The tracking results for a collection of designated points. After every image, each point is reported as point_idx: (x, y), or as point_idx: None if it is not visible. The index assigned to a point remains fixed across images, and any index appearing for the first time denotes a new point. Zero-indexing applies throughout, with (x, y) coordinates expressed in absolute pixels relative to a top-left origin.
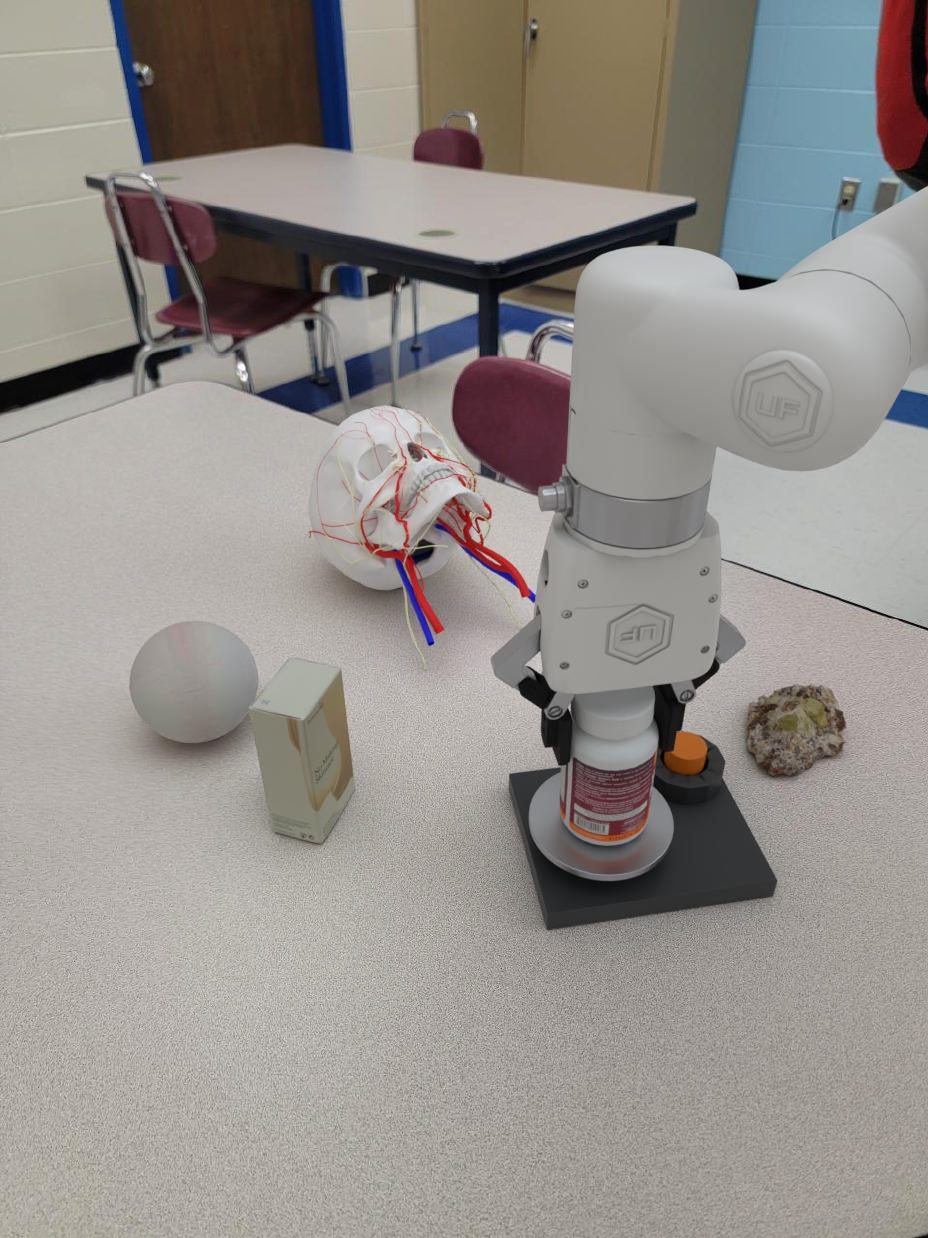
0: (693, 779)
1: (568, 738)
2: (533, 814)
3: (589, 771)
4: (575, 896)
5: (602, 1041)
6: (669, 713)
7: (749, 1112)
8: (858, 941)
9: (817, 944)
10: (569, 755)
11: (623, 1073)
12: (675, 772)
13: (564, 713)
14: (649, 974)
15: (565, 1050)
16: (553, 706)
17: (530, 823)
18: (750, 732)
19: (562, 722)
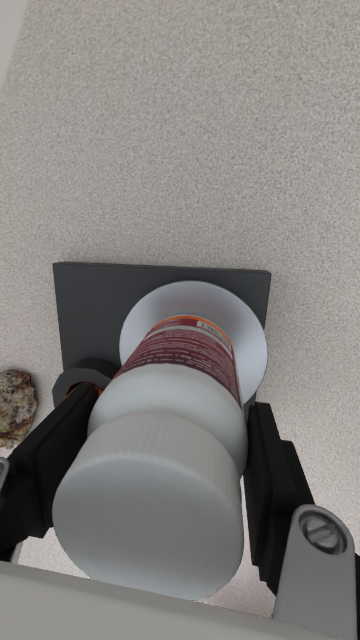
0: (86, 377)
1: (267, 446)
2: (258, 376)
3: (223, 380)
4: (237, 287)
5: (258, 146)
6: (45, 443)
7: (155, 51)
8: (13, 204)
9: (45, 208)
10: (253, 415)
11: (251, 109)
12: (100, 390)
13: (279, 513)
14: (192, 207)
15: (295, 142)
16: (338, 556)
17: (266, 366)
18: (28, 417)
19: (294, 490)
